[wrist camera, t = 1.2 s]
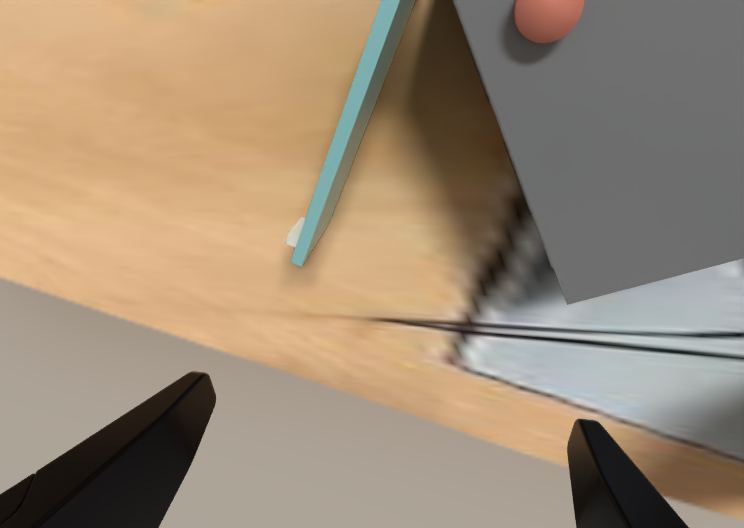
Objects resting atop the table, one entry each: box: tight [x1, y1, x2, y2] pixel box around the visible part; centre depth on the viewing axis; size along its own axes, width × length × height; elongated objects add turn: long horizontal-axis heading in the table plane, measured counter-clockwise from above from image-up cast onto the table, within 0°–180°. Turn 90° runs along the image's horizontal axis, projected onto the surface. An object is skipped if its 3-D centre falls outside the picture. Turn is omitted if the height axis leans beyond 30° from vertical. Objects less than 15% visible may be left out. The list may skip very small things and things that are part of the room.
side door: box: [286, 0, 416, 267], centre depth 16 cm, size 12×1×4 cm, turn 158°
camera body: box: [453, 0, 744, 305], centre depth 13 cm, size 13×8×6 cm, turn 28°
